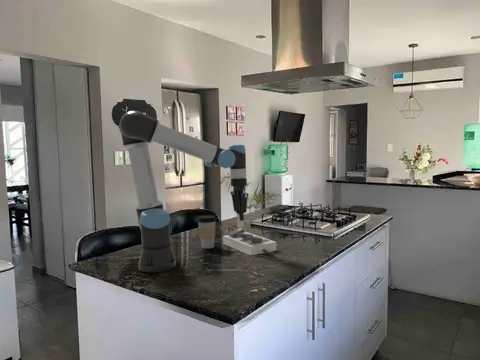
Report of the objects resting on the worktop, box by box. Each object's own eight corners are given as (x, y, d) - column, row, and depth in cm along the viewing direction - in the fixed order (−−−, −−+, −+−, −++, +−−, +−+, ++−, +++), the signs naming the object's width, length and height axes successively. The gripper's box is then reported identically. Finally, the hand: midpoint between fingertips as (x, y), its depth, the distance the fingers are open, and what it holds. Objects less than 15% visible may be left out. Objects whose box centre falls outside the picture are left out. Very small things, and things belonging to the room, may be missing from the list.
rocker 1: (232, 237, 190) (232, 234, 190) (229, 236, 194) (228, 232, 194) (244, 232, 194) (243, 229, 193) (240, 230, 197) (239, 227, 197)
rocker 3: (249, 240, 176) (250, 236, 176) (244, 239, 180) (245, 235, 180) (262, 242, 180) (262, 238, 180) (257, 240, 183) (258, 236, 183)
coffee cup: (194, 248, 189) (193, 217, 187) (205, 243, 197) (204, 214, 196) (211, 250, 184) (209, 219, 183) (221, 245, 192) (220, 215, 191)
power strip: (260, 259, 167) (260, 248, 166) (223, 243, 196) (222, 234, 195) (286, 254, 174) (286, 243, 173) (246, 239, 203) (246, 230, 203)
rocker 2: (240, 237, 183) (241, 233, 183) (236, 235, 187) (236, 232, 187) (252, 238, 187) (253, 235, 187) (248, 237, 190) (249, 233, 190)
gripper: (252, 177, 179) (254, 228, 181) (238, 176, 190) (240, 223, 193) (238, 179, 176) (241, 230, 178) (224, 177, 187) (227, 225, 189)
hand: (240, 226), depth 185 cm, fingers closed
